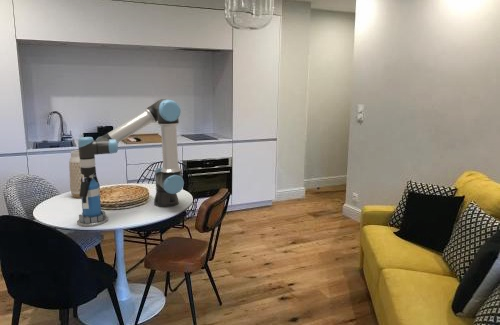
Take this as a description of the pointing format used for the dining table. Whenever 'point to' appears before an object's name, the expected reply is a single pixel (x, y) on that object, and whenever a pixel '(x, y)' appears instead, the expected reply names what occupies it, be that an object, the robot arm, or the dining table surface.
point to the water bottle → (93, 199)
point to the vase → (75, 174)
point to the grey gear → (92, 220)
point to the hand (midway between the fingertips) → (91, 204)
